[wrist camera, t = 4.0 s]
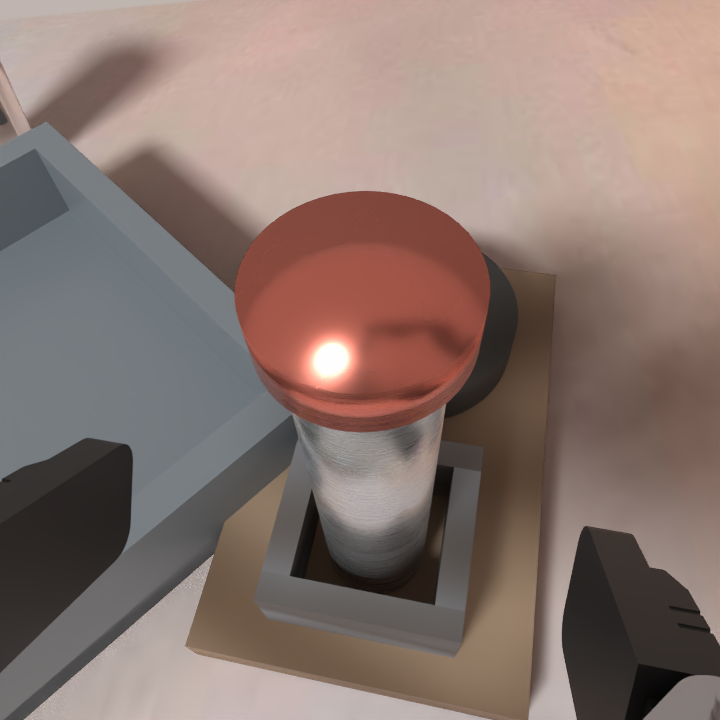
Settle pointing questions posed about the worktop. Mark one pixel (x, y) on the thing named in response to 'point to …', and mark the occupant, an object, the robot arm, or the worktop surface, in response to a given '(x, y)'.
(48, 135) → the tray
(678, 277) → the worktop surface
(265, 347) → the pin
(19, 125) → the milkshake
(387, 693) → the wooden stand
